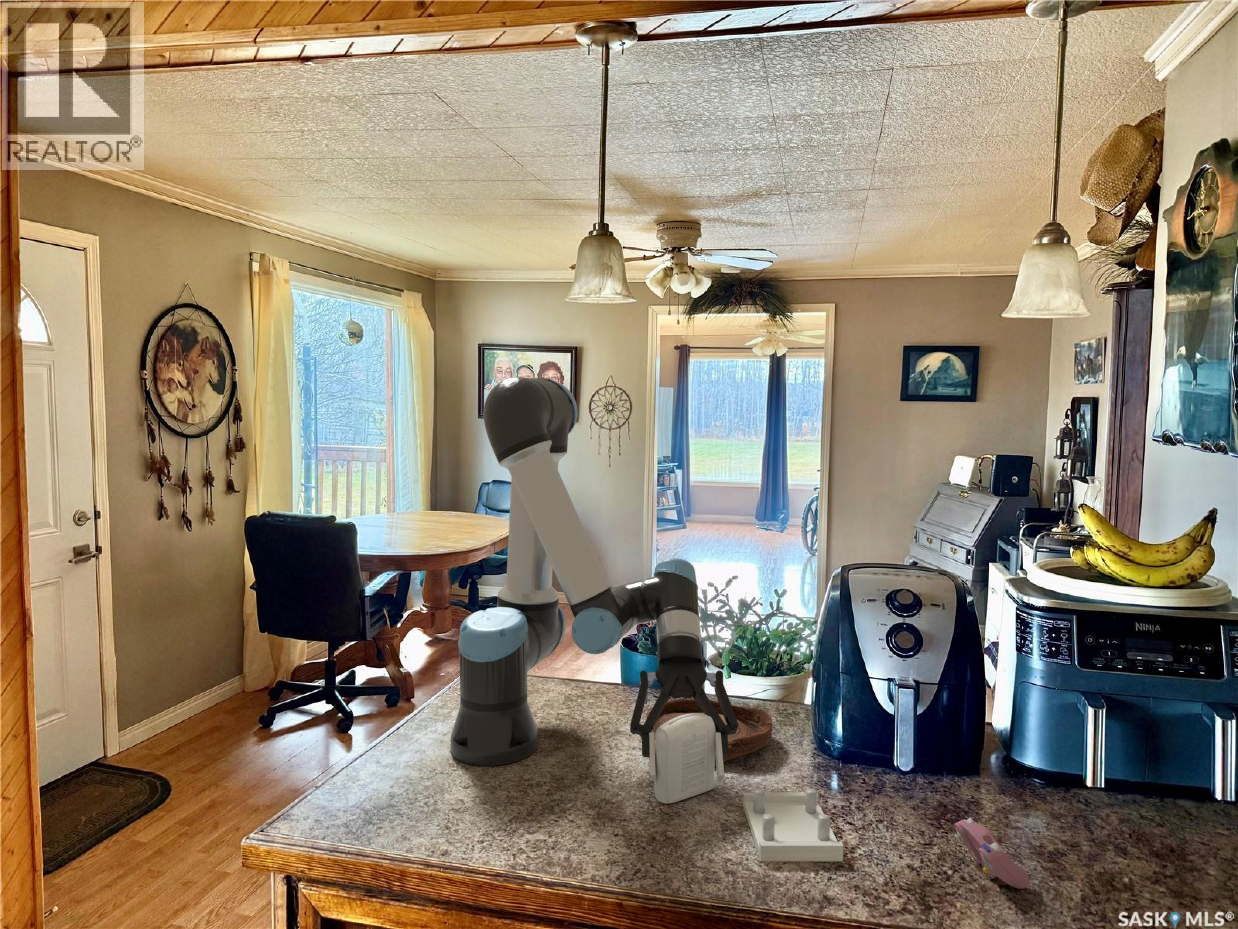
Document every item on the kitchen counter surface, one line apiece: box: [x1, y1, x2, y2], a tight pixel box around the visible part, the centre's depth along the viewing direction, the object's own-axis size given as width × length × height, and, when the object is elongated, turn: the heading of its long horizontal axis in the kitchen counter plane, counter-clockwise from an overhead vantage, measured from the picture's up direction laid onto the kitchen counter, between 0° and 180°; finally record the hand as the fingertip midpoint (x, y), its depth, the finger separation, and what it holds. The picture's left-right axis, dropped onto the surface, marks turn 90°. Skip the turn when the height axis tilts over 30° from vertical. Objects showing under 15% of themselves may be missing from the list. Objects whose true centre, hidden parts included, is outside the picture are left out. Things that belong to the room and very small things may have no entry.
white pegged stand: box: [742, 788, 844, 862], centre depth 112 cm, size 14×11×4 cm
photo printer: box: [653, 713, 716, 804], centre depth 122 cm, size 10×4×12 cm, turn 124°
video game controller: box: [953, 817, 1030, 890], centre depth 103 cm, size 10×5×7 cm, turn 6°
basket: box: [645, 698, 773, 764], centre depth 141 cm, size 22×20×5 cm
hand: (686, 778), depth 119 cm, fingers closed on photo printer, 10 cm apart
